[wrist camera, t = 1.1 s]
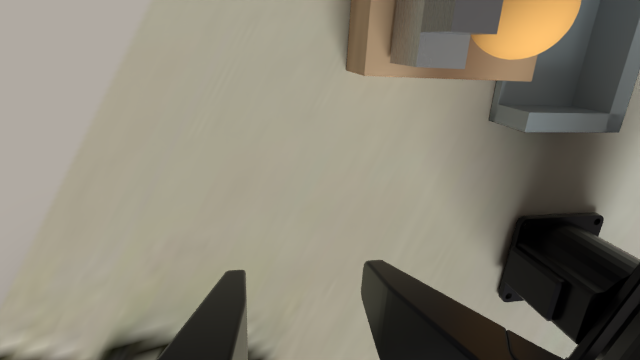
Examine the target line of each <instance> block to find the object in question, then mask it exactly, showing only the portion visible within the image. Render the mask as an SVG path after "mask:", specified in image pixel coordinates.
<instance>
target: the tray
mask: <svg viewBox="0 0 640 360" xmlns="http://www.w3.org/2000/svg"><path fill="white" fill-rule="evenodd" d="M639 70H640V0H581V5H580V8H579V12H578V14H577V16H576V19H575V20H574V22H573V24H572V26H571V27H570V29H569V30H568V31H567V33H566V34H565V35H564V36H563V37H562V38H561V39H560V40H559V41H558V42H557V43H556V44H554V45H553V46H552V47H550V48H549V49H547V50H545V51H544V52H542V53H539V54H538V56H537V60H536V64H535V68H534V73H533V77H532V81H531V82H528V81H500V80H497V82H496V87H495V92H494V97H493V102H492V107H491V112H490V117H489V121H492V122H495V123H498V124H501V125H504V126H507V127H510V128H513V129H517V130H520V131H523V132H619V131H620V128H621V125H622V122H623V119H624V116H625V113H626V110H627V107H628V104H629V101H630V98H631V94H632V91H633V88H634V85H635V82H636V79H637V76H638V73H639Z"/></svg>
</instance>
